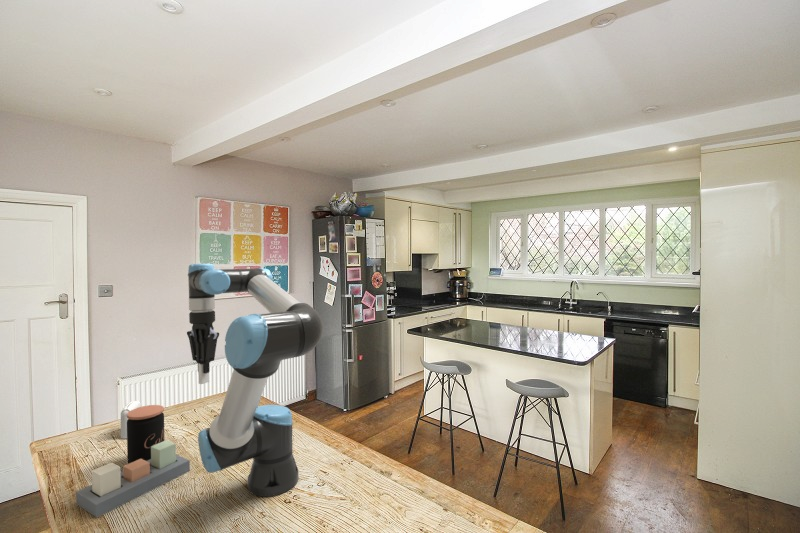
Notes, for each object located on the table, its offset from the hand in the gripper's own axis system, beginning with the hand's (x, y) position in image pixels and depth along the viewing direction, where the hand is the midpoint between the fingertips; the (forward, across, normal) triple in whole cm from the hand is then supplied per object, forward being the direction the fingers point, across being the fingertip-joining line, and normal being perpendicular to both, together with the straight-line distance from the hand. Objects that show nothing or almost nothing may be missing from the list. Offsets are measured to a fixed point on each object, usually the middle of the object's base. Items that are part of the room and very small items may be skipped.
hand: (203, 382), depth 126 cm
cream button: (+26, +12, +23) cm, 37 cm away
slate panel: (+29, +12, +15) cm, 35 cm away
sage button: (+26, +11, +7) cm, 29 cm away
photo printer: (+28, +51, -5) cm, 59 cm away
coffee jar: (+29, +23, +5) cm, 37 cm away
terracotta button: (+29, +12, +15) cm, 34 cm away
